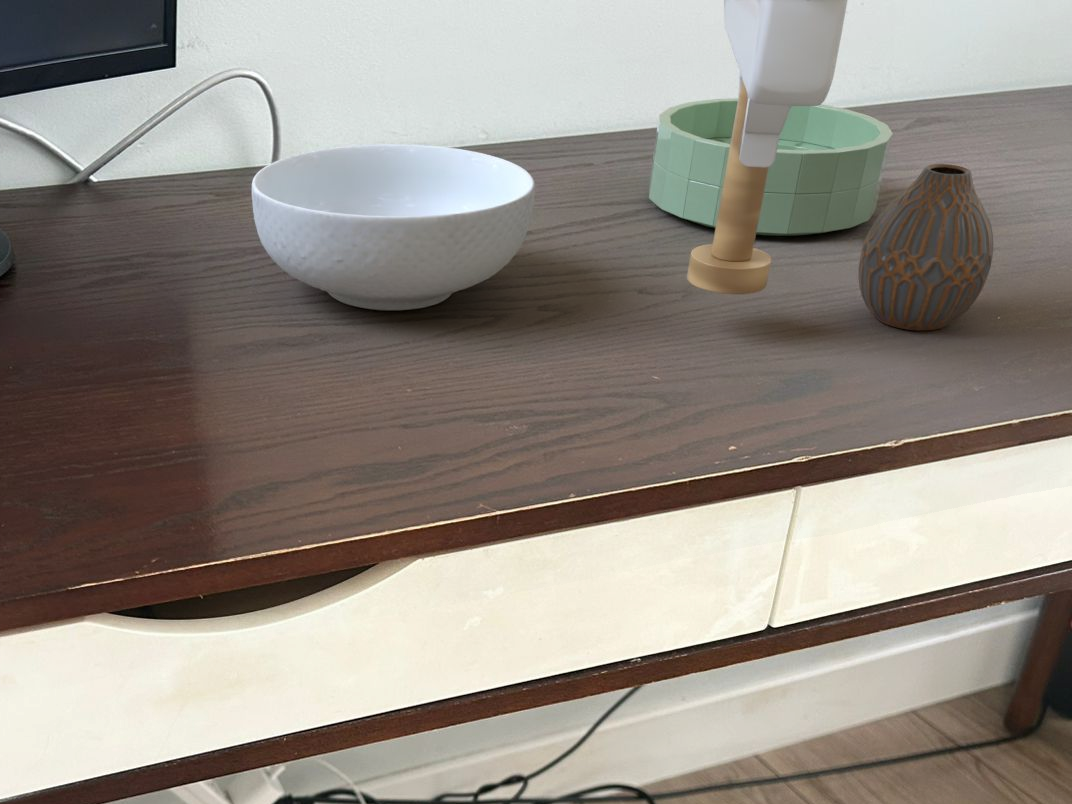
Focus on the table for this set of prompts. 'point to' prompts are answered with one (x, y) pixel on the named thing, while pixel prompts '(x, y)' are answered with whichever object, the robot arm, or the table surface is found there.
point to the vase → (927, 252)
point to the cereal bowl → (392, 220)
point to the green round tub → (773, 167)
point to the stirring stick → (734, 227)
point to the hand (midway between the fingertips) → (751, 154)
